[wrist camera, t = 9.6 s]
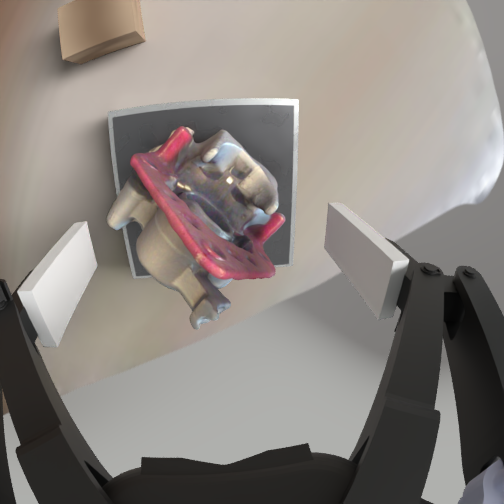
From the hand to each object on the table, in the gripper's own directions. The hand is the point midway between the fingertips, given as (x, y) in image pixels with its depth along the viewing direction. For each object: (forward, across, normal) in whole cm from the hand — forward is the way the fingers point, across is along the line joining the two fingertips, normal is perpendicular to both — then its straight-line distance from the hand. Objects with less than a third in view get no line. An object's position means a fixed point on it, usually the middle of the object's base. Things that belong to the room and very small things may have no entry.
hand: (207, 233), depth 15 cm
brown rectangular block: (+11, -8, +15) cm, 20 cm away
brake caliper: (+7, 0, 0) cm, 7 cm away
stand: (+11, 0, 0) cm, 11 cm away
